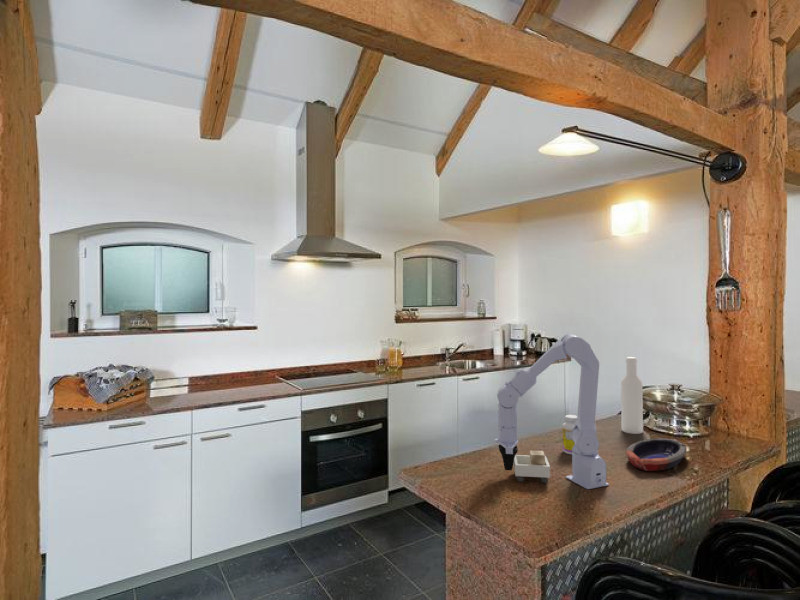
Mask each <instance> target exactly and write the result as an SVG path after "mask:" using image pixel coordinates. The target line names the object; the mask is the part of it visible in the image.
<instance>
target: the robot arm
mask: <svg viewBox="0 0 800 600" xmlns="http://www.w3.org/2000/svg"><path fill="white" fill-rule="evenodd" d="M567 356H569V357H570V358H572V359H573V360H575V362H577V363H578V365H579V366H580V377H579V391H578V392H579V394H578V402H577V403H578V405H577V415H576V416H577V419H576V421H575V427H574V429H573V430H572V432H571V438H572V440H573V442H574V443H575V444H574V446H573V448H572V455H571V460H572V462H571V465H572V474H570V475H566V476H565V478H566V479H567V480H570V481H571V482H573V483H575V484H577V485H579V486H580V487H583V488H584V489H586V490H591V489H596V488H601V487H606V486H609V485H610V483H608V482H607V463H606V461H605V459H603V458H602V457H601V456H600V455H599V451H598V450H599V447H600V442H599V439H598V436H597V434H598V433H597V432H598V431H597V426H596V415H597V414H596V413H597V412H596V411H597V399H598V387H599V386H598V385H599V373H600V371H599V370H600V362H599V359H598V357H597V355H596V353H594V351H593V349H592V346H591V345H590V344H589V342H587V341H586V340H585V339H584V338H582V337H580V336H577V334H576V335H575V333H569V334H568V333H567V334H565V335H563V336H562V338H561V339H558V340H557V341H556V342H555V343H553V345H551V346H550V347H549V348H548V349H547V350H546V351H545V352H544V353H543V354H542V355H540V357H539V358H538V359H537V360H536V361H535V362H534V363H533V364H532V365H531V366H530V367H529V368H522V369H521V370H520V369H519V370H517V371H516V372H515V374H516V375H515V376H514V377H512V378H511V380H509V381H506V382H505V383H504V386H501V387H500V388H498V389H499V390H498V391H497V394H496V396H497V399H498V406H497V408H498V410H497V423H498V424H497V425H498V427H497V428H498V431H497V432H498V438H494V443H498V444H499V445H498V450H499V452H500V454H501V457H502V461H503V462H502V463H503V467H504V471H513V469H514V464H513V463H514V458H515V455H517V453H518V451H519V449H518V444H519V440H518V411H517V404H518V402H519V398H522V397H523V396H524V395H525V394H526V393H528V391H529V390H531V388H532V387H533V386H535V385H536V384H537V377H538V376H539V375H541V374H542V373H543V372H544V371H545V370H547V369H548V368H549V367H550V366H551V365H553V364H554V363H555V362H556V361H559V360H567V359H568V357H567Z"/></svg>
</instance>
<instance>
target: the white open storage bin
mask: <svg viewBox="0 0 800 600" xmlns="http://www.w3.org/2000/svg"><path fill="white" fill-rule="evenodd" d="M513 469H514V474H515V475H514V476H515V477H516V480H517V482H519V483H523V482H524V480H525V477H529V478H530V477H531V478H540V481H541V483H543V484H547V483H548V482H549V479H550V478H551V466H550V463H549V460H548V458H547V456H546V455H545V465H530V454H529V455H526V454H525V455H523V454H516V455H515V458H514V463H513Z"/></svg>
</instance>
